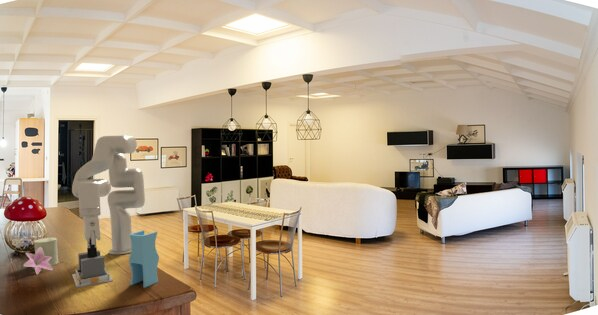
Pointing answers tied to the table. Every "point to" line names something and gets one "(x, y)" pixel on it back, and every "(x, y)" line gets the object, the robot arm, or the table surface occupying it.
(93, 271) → the panel
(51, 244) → the can
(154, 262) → the blue tall curved block
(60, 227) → the table surface
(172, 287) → the table surface
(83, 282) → the rack
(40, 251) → the lily
